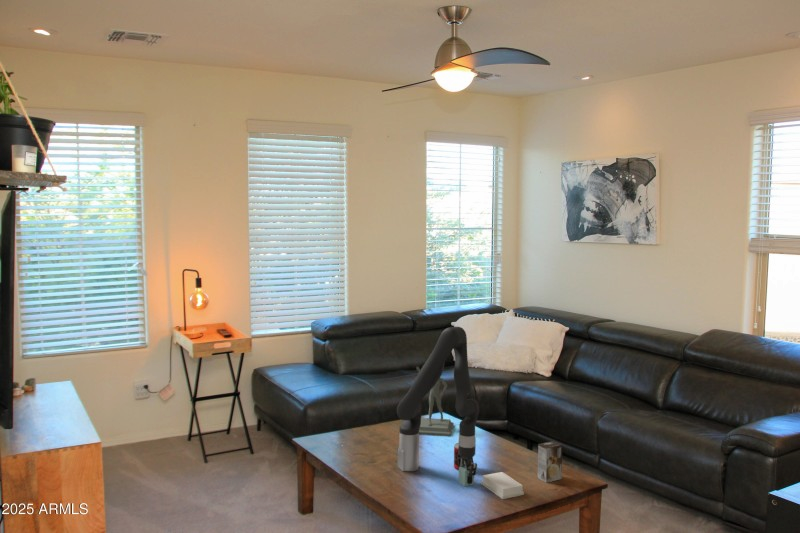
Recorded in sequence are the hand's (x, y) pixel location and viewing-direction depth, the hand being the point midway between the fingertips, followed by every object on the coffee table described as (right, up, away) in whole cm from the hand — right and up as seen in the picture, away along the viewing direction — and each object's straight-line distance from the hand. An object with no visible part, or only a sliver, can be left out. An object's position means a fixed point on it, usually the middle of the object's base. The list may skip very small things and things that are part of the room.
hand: (466, 481), depth 295 cm
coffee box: (+38, -1, +5) cm, 39 cm away
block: (0, -1, 0) cm, 1 cm away
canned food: (0, 0, +17) cm, 18 cm away
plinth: (+15, -2, -6) cm, 16 cm away
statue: (-11, +5, +72) cm, 73 cm away
